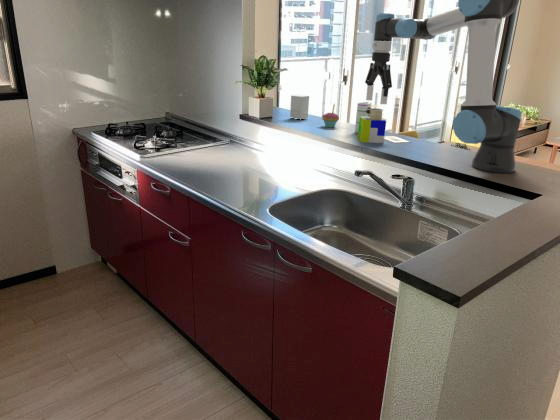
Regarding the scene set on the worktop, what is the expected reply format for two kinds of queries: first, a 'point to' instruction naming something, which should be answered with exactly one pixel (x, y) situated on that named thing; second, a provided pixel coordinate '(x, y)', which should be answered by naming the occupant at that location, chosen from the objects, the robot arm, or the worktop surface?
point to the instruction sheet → (394, 139)
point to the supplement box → (299, 106)
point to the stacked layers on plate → (374, 113)
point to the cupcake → (330, 118)
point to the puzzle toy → (371, 130)
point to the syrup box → (361, 113)
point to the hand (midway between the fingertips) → (376, 102)
